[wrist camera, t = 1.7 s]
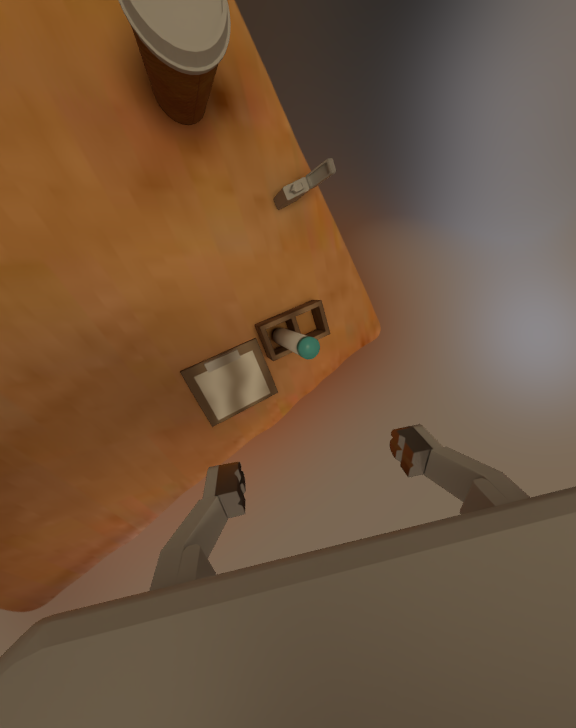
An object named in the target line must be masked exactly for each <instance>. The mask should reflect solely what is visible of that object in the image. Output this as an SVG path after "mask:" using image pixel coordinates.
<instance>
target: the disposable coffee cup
mask: <svg viewBox="0 0 576 728" xmlns="http://www.w3.org/2000/svg"><path fill="white" fill-rule="evenodd" d="M119 3H120V5H121V7H122V9H123V11H124V14H125V15H126V17H127V19H128V21H129V22H130V24H131V26H132V29H133V32H134V35H135V38H136V41H137V44H138V47H139V50H140V53H141V56H142V59H143V62H144V65H145V68H146V71H147V74H148V77H149V80H150V82H151V85H152V89H153V92H154V95H155V97H156V99H157V102H158V103H159V105H160V106H161V108H162V109H163V110H164V112H165V113H166V114H167V115H168V116H169V117H171V118H172V119H173V120H175V121H177V122H179V123H182V124H186V125H191V124H194V123H197V122H198V121H200V119H201V118H202V117H203V115H204V112H205V108H206V105H207V101H208V98H209V94H210V91H211V87H212V84H213V80H214V77H215V74H216V70H217V66H218V63H219V62H220V61H221V60H222V58H223V56H224V55H225V52H226V49H227V46H228V43H229V37H230V13H229V7H228V2H227V0H119Z"/></svg>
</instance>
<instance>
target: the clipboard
mask: <svg viewBox="0 0 576 728" xmlns="http://www.w3.org/2000/svg"><path fill="white" fill-rule="evenodd" d="M180 373H181V375H182V376H183V378H184V380H185V381H186V383H187V385H188V386H189V388H190V390H191V391H192V393H193V395H194V397H195V398H196V400H197V402H198V403H199V405H200V407H201V408H202V410H203V412H204V413H205V415H206V417H207V419H208V420H209V422H210V424H211V425H212V427H213V426H215V425H217V424H219V423H221V422H223V421H225V420H227V419H228V418H230V417H232V416H234V415H236V414H238V413H240V412H242V411H244V410H246V409H247V408H249V407H251V406H253V405H255V404H257V403H259V402H261V401H263V400H265V399H267V398H268V397H270V396H272V395H274V394H276V393H278V391H277V388H276V386H275V383H274V381H273V379H272V376H271V374H270V371H269V369H268V366H267V364H266V361H265V359H264V357H263V354H262V352H261V349H260V347H259V344H258V342H257V339H256V338H254V339H252V340H250V341H248V342H245V343H243V344H241V345H239V346H236V347H234V348H232V349H230V350H227V351H225V352H223V353H221V354H218V355H216V356H214V357H212V358H209V359H207V360H205V361H203V362H200V363H198V364H196V365H194V366H191V367H189V368H187V369H185V370H182V371H180Z"/></svg>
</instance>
